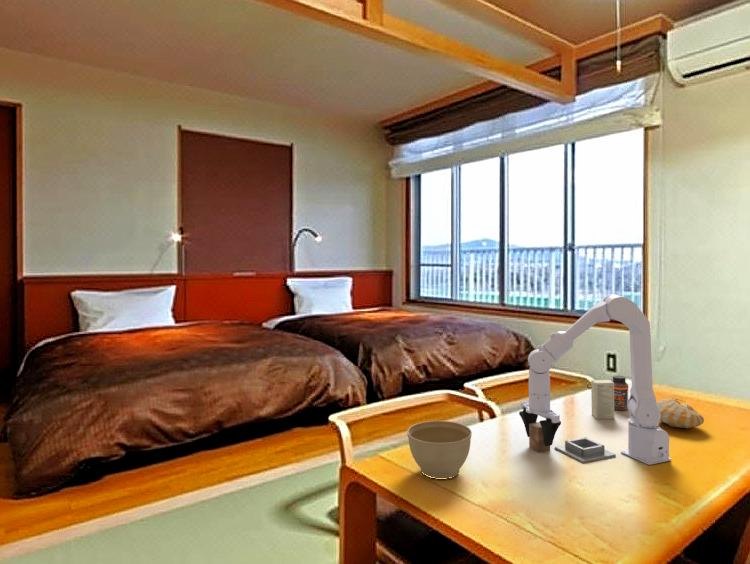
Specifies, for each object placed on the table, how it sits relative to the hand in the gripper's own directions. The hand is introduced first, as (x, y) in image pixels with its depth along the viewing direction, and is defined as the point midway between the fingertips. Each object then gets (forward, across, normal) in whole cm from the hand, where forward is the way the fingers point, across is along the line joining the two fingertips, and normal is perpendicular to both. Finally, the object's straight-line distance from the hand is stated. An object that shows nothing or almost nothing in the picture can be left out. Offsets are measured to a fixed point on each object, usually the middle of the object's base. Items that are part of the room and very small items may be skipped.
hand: (539, 440), depth 147 cm
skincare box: (+3, -15, +37) cm, 40 cm away
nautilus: (+3, 0, +53) cm, 53 cm away
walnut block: (+2, 0, 0) cm, 2 cm away
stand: (+2, +7, +10) cm, 12 cm away
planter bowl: (+3, +3, -33) cm, 33 cm away
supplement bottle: (+3, -20, +49) cm, 53 cm away
